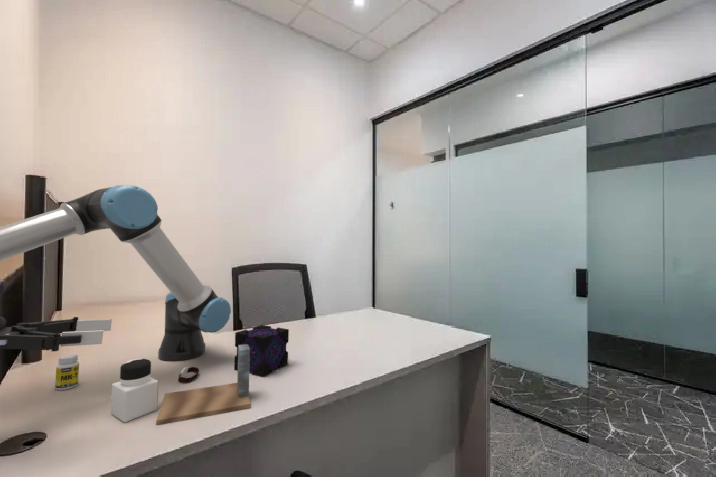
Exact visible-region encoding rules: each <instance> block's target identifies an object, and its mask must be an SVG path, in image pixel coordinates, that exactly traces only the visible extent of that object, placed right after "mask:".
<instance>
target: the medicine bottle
mask: <svg viewBox="0 0 716 477" xmlns="http://www.w3.org/2000/svg"><path fill="white" fill-rule="evenodd" d="M119 368H120V373H119V374H120V376H119V381H117V382H112V384H111V399H110V400H111V401H110V403H111V406H110V413H111V415H112V416H114V417H116V418H117V419H118V420H121V421H122V422H123V423H127V422H130V421H132V420H133V421H134V420H135V419H137V418H140V417H143V416H146V415H148V414H150V413H153V412H155V411H157V410H158V402H159V380H157V379H156V378H153V377H152V376H151V375H152V374H151V373H152V361H151V360H149V359H146V358H135V359H134V358H133V359H131V360H128V361H126V362H124V363H122V364H121V366H120V367H119Z"/></svg>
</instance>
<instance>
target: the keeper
mask: <svg viewBox="0 0 716 477" xmlns="http://www.w3.org/2000/svg"><path fill="white" fill-rule="evenodd" d="M249 367H250V348H249V345H248V344H244V345H238V371H237V381H236V382H234V383H227V384H219V385H211V386H207V387H201V388H193V389H186V390H178V391H172V392H167V393H166V392H165V393H164V394H163V398H162V401H161V405H160V407H159V411H158V414H157V418H156V420H155V422H156V423H155V425H156V426H159V425H165V424H168V423H169V424H171V423H174V422H175V423H176V422H180V421H181V422H182V421H187V420H191V419H192V420H193V419H197V418H202V417H208V416H214V415H218V414H219V415H220V414H224V413H230V412H235V411H241V410H247V409H250V408H251V407H252V406H251V405H252V404H251V403H252V402H251V400H250V372H249Z"/></svg>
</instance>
